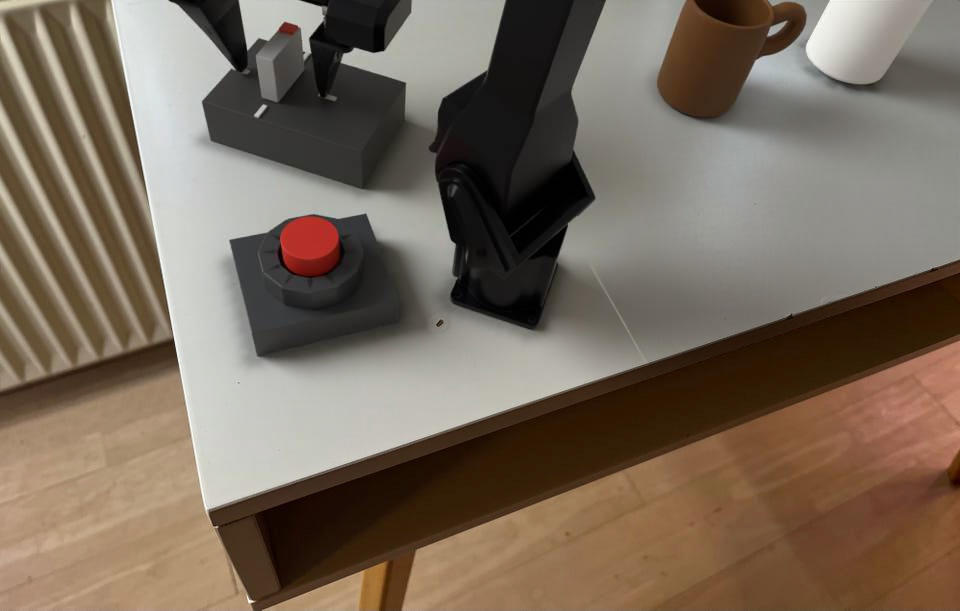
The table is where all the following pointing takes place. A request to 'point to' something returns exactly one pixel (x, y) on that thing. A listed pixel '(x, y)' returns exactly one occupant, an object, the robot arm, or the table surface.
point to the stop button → (310, 246)
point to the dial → (280, 62)
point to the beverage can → (862, 37)
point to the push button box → (314, 288)
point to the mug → (722, 50)
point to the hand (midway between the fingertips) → (283, 81)
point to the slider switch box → (309, 119)
